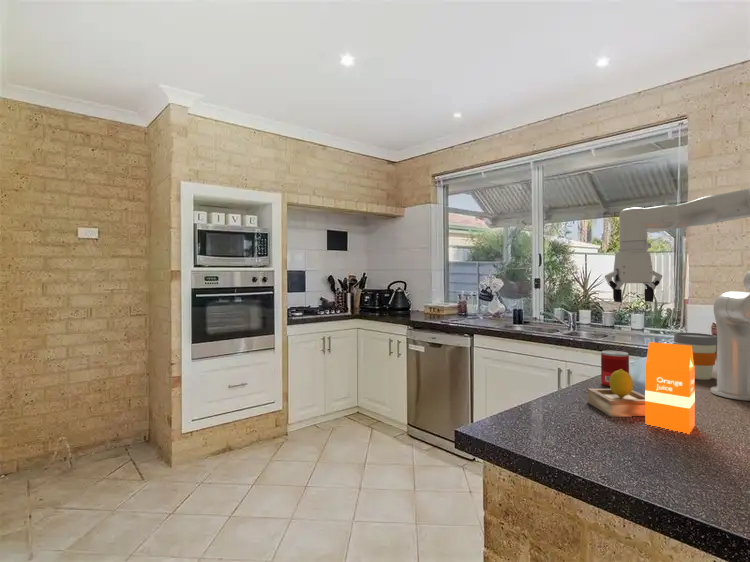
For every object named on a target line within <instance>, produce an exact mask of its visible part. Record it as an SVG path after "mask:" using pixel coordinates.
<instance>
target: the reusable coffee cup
mask: <svg viewBox="0 0 750 562" xmlns="http://www.w3.org/2000/svg"><path fill="white" fill-rule="evenodd" d="M673 342H674V344H677V345H688V346H692V353H693V361H694V366H695V380H711V379H712V374H713V369H714V366H715V365H716V361H717V335H714V334H708V333H701V332H700V333H698V332H675V333H674V336H673Z"/></svg>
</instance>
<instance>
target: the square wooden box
mask: <svg viewBox="0 0 750 562" xmlns="http://www.w3.org/2000/svg"><path fill="white" fill-rule="evenodd" d="M587 403H588V404H590V405H591V406H592V407H594V408H596V409H598V410H599V411H601V412H603V413H604V414H606V415H607V416H609V417H632V416H643V415H644V416H645V394H642V393H640V392H639V391H636V390H633V389H632V391H631V393H630V394H629V395H627V396H624V397H623V398H620V397H619V396H618V395H616V394H614V393H613V392H612V390H611V388H587Z"/></svg>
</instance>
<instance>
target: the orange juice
mask: <svg viewBox="0 0 750 562" xmlns="http://www.w3.org/2000/svg"><path fill="white" fill-rule="evenodd" d="M645 360H646V361H645V366H644V367H645V368H644V370H645V371H644V372H645V374H644V375H645V380H644V382H645V384H644V388H645V389H644V395H645V417H644V420H645V423H644V424H647V425H651V426H650V427H652V426H657V427H661V428H665V429H664V430H666V429H669V430H668V431H671V430H673V431H672V432H675V431H678V432H677V433H680V432H683V433H682V434H685V433H687V434H686V435H690V434H691V433H692V431H693V429H694V428H695V424H696V421H695V419H696V418H695V415H696V414H695V413H696V412H695V409H696V408H695V407H696V406H695V402H696V397H695V396H696V394H695V393H696V391H695V383H696V382H695V380H696V379H695V366H694V361H693V353H692V346H688V345H677V344H675V343H664V342H663V343H662V342H654V341H653V342H652V341H649V342H648V348H647V353H646V359H645ZM647 425H646V426H647ZM657 427H656V428H657ZM661 428H660V429H661ZM690 432H691V433H690Z"/></svg>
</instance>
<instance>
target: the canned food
mask: <svg viewBox="0 0 750 562" xmlns="http://www.w3.org/2000/svg"><path fill="white" fill-rule="evenodd" d="M600 358H601V359H600V362H601V364H600V370H601V375H600V376H601V377H600V378H601V385H603V386H604V385H605V386H604V387H608V386H610V383H609V382H610V377H611V375H612V373H613V372H615V371H617V370H619V369H622V370H623V371H625V372H627V373H628V374H629V375H630V354H629V353H628V352H626V351H620V350H602V351H601V354H600Z"/></svg>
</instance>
